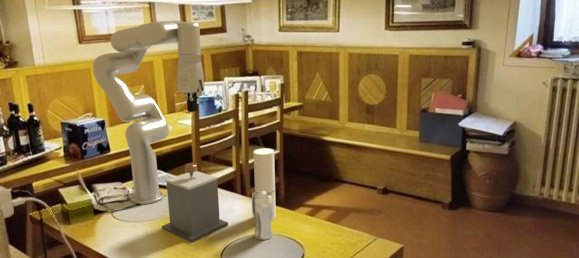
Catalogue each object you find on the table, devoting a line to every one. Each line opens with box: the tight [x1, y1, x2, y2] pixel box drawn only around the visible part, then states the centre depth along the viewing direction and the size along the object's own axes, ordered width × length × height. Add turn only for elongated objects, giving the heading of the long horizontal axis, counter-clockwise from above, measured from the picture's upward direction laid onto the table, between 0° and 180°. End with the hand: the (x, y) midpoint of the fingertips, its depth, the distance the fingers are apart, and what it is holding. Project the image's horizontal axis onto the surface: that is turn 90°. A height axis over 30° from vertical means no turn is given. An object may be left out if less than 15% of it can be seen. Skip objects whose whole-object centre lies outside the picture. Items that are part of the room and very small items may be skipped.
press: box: [161, 170, 229, 244], centre depth 164 cm, size 16×17×18 cm
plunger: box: [184, 162, 198, 180], centre depth 162 cm, size 9×9×17 cm
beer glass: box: [251, 190, 273, 241], centre depth 157 cm, size 7×7×15 cm
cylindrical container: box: [253, 147, 277, 221], centre depth 169 cm, size 7×7×25 cm
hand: (192, 111), depth 168 cm, fingers closed
